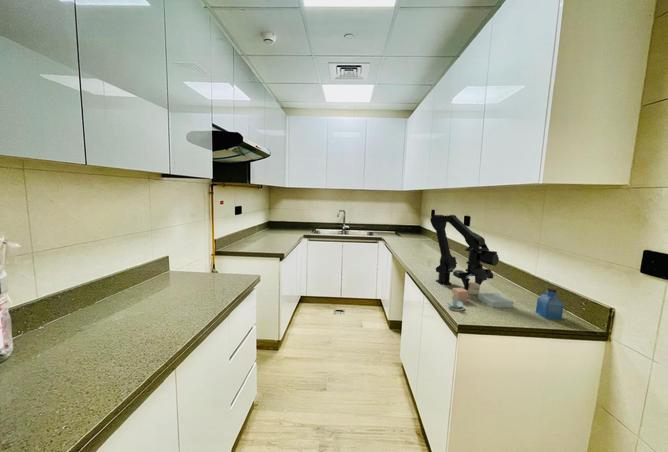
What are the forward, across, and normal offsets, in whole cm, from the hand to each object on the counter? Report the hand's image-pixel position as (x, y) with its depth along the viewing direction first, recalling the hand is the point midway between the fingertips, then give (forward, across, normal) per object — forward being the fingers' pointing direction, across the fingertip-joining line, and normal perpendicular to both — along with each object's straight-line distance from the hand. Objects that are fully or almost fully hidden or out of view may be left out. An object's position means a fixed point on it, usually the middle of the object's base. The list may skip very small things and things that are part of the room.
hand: (471, 290), depth 137 cm
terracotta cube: (+1, -12, -9) cm, 15 cm away
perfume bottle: (+1, +17, -27) cm, 32 cm away
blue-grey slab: (+2, +3, -13) cm, 13 cm away
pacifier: (+1, -20, -18) cm, 27 cm away
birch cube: (+1, 0, 0) cm, 1 cm away
